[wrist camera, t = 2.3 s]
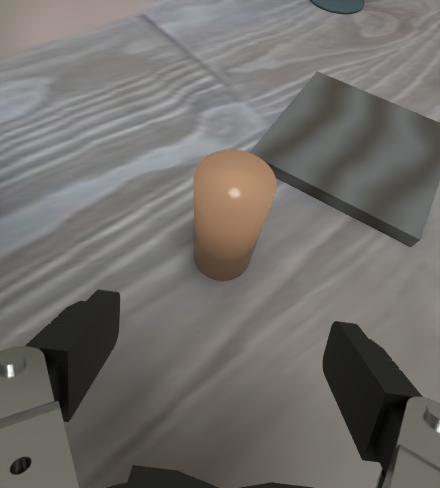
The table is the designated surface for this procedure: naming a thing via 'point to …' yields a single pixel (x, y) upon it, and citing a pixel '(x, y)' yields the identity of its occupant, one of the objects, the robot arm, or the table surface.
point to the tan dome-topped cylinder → (230, 211)
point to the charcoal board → (357, 155)
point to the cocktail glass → (340, 5)
